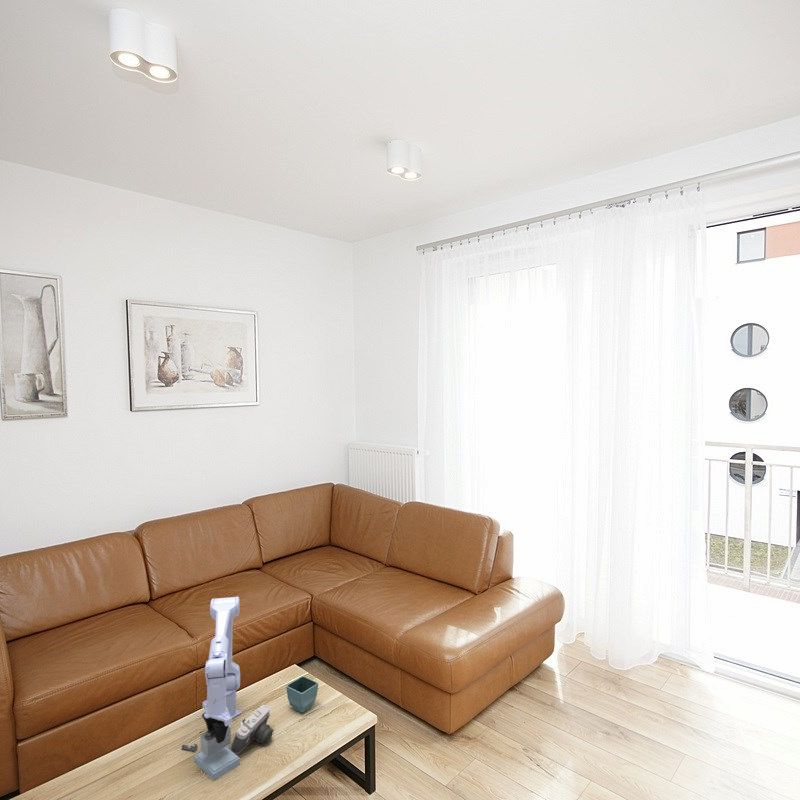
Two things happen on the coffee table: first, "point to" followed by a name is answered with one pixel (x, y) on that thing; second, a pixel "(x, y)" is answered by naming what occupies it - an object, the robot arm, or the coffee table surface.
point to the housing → (213, 742)
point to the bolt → (190, 747)
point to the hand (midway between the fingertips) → (216, 737)
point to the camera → (253, 729)
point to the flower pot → (302, 693)
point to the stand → (217, 762)
